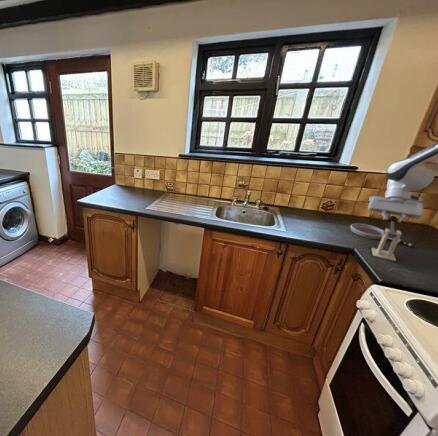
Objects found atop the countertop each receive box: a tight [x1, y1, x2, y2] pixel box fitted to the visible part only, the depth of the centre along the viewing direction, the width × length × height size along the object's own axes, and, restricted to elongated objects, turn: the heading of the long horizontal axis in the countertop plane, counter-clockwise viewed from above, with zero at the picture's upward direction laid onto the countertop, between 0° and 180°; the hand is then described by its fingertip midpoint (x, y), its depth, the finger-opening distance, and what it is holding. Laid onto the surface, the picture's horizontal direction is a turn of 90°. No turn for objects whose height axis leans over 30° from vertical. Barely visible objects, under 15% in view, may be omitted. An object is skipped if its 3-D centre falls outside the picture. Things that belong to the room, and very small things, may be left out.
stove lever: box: [387, 215, 398, 239], centre depth 120 cm, size 14×4×4 cm, turn 144°
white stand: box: [371, 227, 402, 262], centre depth 119 cm, size 10×8×14 cm
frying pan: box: [350, 223, 413, 247], centre depth 141 cm, size 17×3×28 cm
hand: (392, 220), depth 123 cm, fingers closed on stove lever, 3 cm apart
